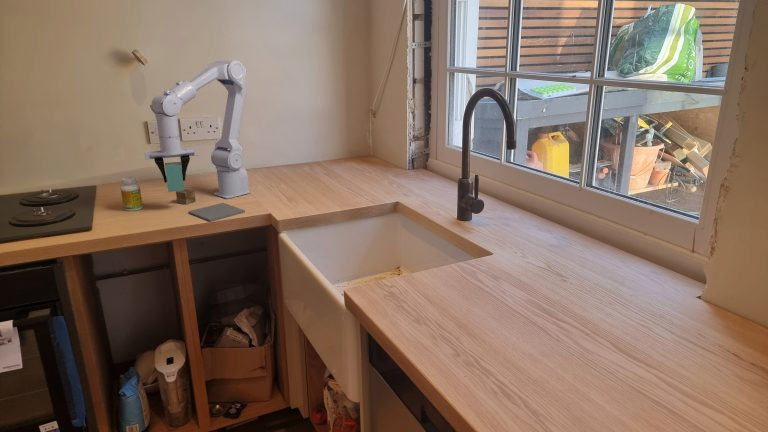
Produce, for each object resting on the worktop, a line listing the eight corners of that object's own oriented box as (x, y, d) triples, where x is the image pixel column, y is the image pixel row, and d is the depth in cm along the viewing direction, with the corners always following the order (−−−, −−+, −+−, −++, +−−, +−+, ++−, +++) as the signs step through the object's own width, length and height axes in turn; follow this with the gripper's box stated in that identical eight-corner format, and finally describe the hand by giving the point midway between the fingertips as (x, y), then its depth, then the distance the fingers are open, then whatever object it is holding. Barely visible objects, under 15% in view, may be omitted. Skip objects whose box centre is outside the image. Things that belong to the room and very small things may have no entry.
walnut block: (186, 200, 171) (185, 188, 170) (195, 201, 170) (194, 190, 168) (177, 203, 168) (175, 191, 167) (186, 205, 166) (185, 193, 165)
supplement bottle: (135, 211, 159) (130, 181, 156) (120, 210, 160) (115, 180, 157) (146, 206, 164) (142, 176, 161) (131, 205, 165) (126, 175, 162)
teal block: (183, 186, 162) (180, 161, 160) (184, 190, 159) (181, 164, 156) (167, 188, 161) (164, 162, 158) (168, 191, 157) (165, 166, 154)
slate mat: (223, 204, 167) (223, 202, 166) (245, 212, 159) (245, 210, 159) (188, 213, 158) (188, 211, 158) (210, 221, 151) (209, 219, 150)
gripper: (193, 132, 161) (198, 175, 165) (142, 136, 155) (148, 180, 159) (195, 136, 155) (200, 180, 159) (142, 139, 149) (149, 185, 153)
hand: (174, 180), depth 159 cm, fingers closed on teal block, 5 cm apart
